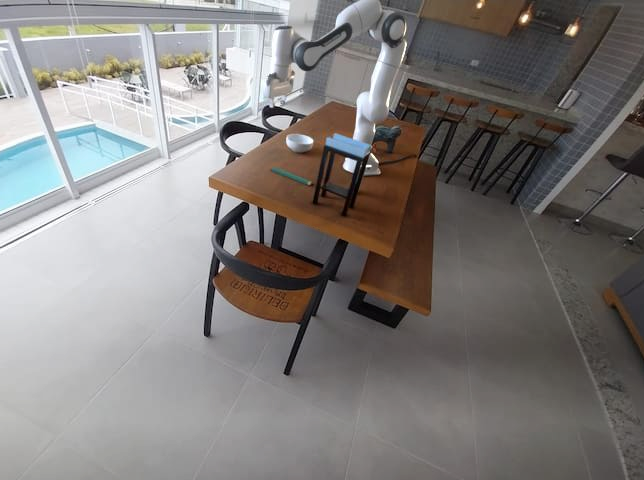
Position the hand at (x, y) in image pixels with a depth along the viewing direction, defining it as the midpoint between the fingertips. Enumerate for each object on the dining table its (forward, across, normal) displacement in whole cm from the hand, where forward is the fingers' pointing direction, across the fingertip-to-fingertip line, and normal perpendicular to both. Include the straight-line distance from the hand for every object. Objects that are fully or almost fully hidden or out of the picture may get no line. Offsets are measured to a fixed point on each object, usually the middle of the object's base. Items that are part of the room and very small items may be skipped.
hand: (277, 105), depth 144 cm
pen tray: (+4, -12, -43) cm, 45 cm away
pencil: (+31, -2, -14) cm, 34 cm away
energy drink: (+31, +8, -45) cm, 56 cm away
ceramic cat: (+32, +78, -37) cm, 92 cm away
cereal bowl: (+31, +33, +2) cm, 46 cm away
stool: (+31, -12, -43) cm, 54 cm away
